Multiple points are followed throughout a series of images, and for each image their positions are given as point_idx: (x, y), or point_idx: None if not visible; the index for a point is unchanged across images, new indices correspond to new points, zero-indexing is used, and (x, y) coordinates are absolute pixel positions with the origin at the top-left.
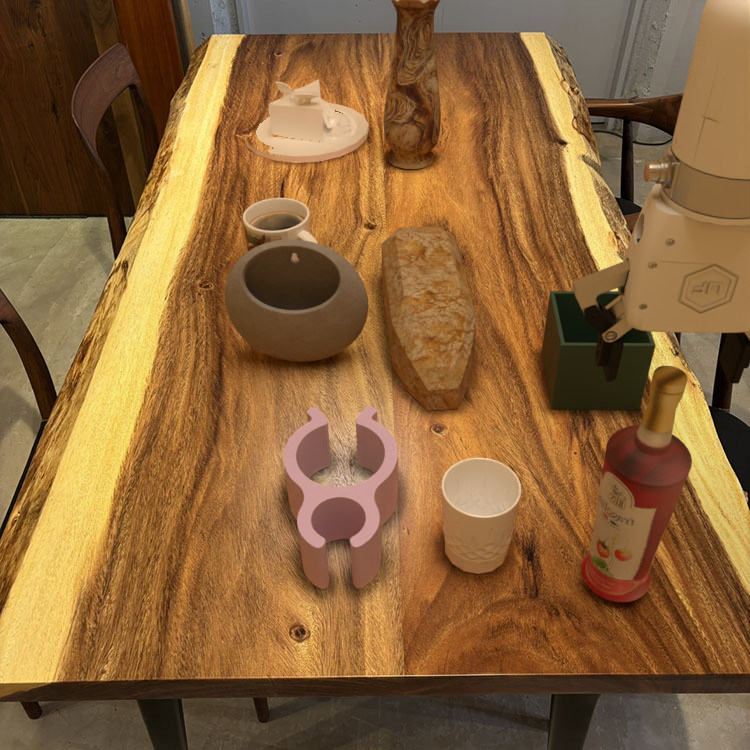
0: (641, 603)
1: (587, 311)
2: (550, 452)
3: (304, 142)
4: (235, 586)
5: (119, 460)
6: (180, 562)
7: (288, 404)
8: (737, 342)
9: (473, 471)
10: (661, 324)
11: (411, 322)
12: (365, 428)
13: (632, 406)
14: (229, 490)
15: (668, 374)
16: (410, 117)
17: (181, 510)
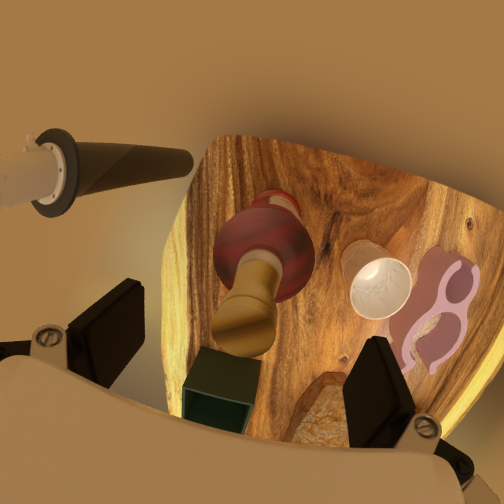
0: (262, 191)
1: (473, 473)
2: (276, 329)
3: None
4: (485, 262)
5: (492, 347)
6: (497, 282)
7: (416, 382)
8: (97, 350)
9: (371, 310)
10: (376, 481)
11: (344, 430)
12: (412, 358)
13: (205, 349)
14: None
15: (244, 337)
16: None
17: (487, 315)
